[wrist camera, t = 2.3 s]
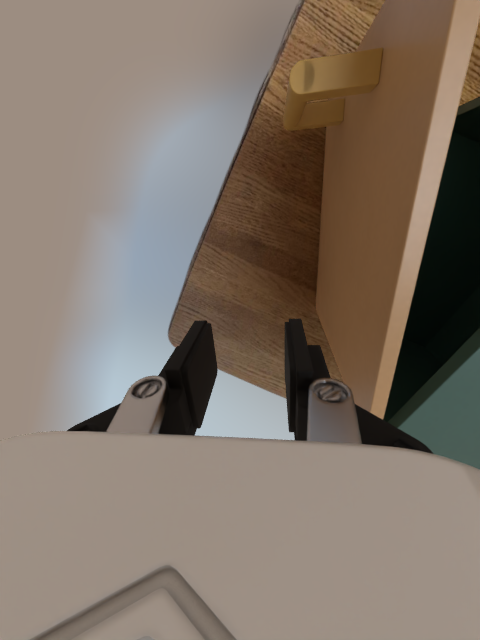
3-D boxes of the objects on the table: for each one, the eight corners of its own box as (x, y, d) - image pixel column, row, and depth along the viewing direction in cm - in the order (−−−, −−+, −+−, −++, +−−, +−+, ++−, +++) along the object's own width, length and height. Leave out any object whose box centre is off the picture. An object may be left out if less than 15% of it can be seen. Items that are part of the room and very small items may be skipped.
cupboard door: (281, 309, 40) (292, 435, 19) (280, 105, 29) (303, -137, 8) (321, 309, 39) (379, 439, 18) (337, 97, 28) (533, -197, 7)
